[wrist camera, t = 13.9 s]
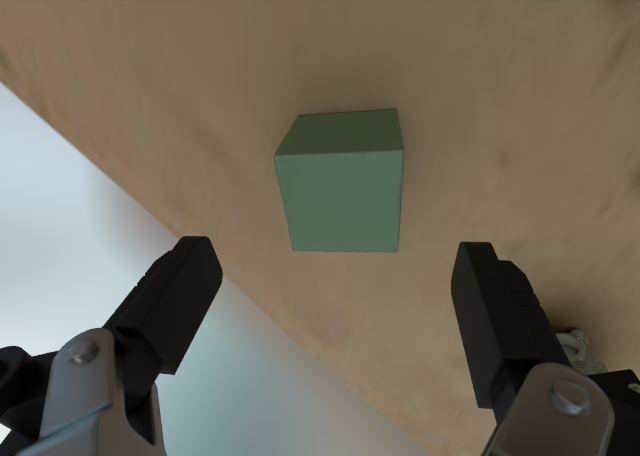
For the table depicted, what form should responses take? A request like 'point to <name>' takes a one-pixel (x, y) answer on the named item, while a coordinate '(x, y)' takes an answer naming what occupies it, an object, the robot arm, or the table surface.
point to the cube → (342, 181)
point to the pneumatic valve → (600, 369)
